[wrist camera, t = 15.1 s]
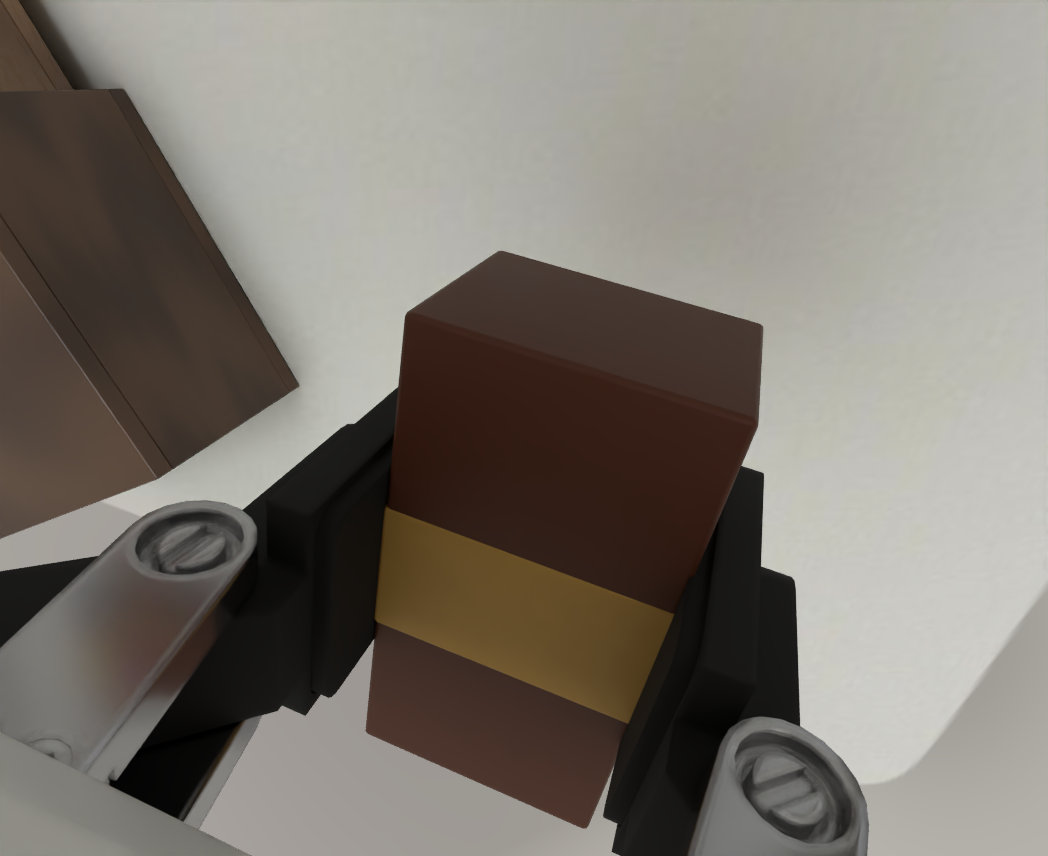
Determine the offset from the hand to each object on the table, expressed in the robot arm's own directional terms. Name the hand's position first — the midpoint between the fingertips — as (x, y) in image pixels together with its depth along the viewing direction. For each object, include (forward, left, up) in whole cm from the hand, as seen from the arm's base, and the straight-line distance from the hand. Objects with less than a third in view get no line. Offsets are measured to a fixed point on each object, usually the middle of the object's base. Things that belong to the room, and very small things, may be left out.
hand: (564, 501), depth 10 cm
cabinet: (+27, -8, -17) cm, 33 cm away
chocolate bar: (0, 0, 0) cm, 0 cm away
